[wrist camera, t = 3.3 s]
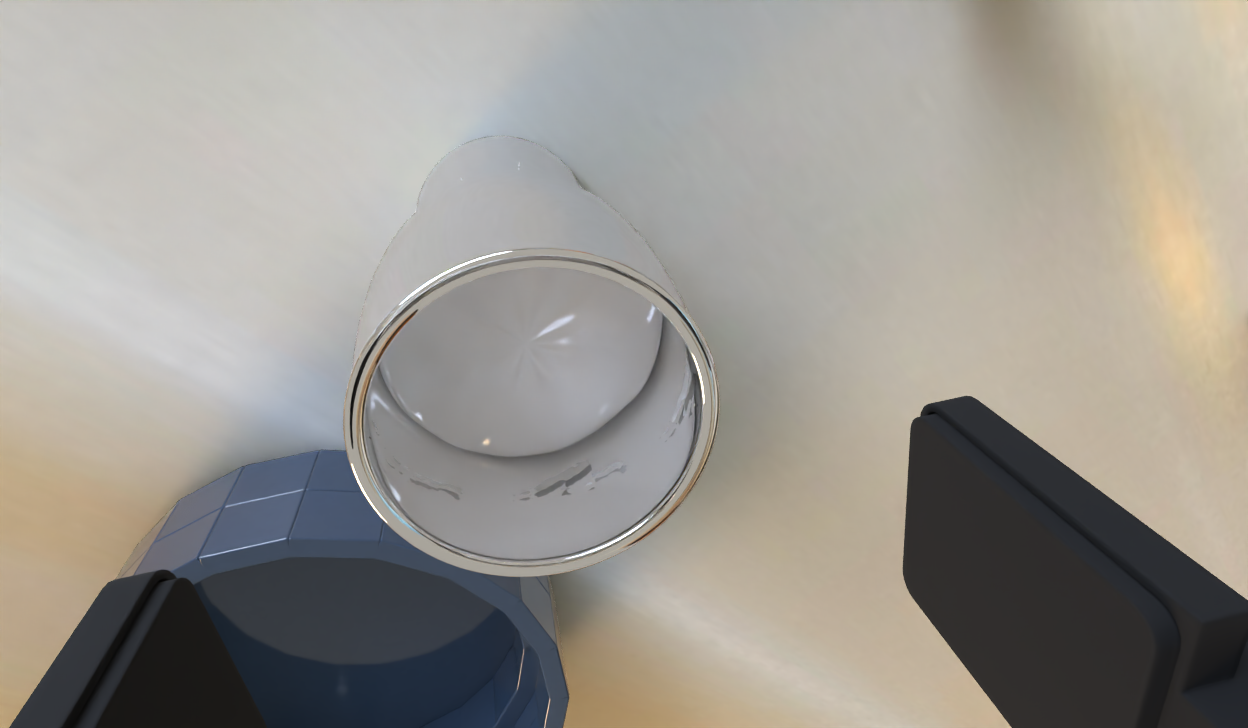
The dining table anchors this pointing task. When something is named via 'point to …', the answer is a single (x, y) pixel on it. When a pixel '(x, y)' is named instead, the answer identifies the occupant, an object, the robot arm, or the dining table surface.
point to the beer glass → (524, 372)
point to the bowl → (355, 608)
